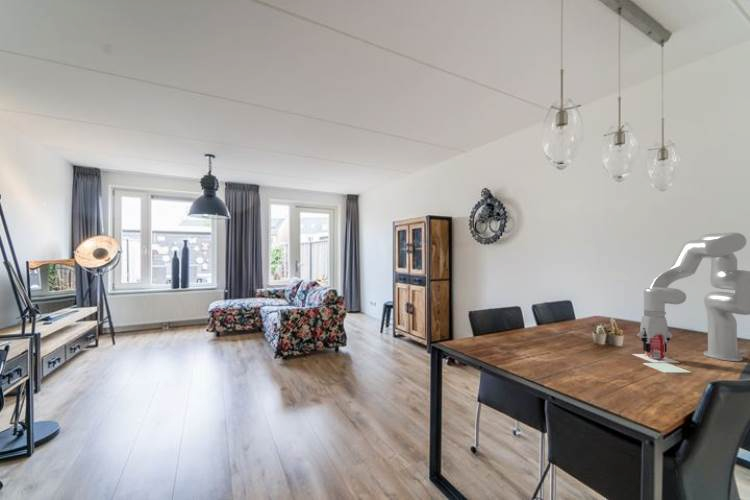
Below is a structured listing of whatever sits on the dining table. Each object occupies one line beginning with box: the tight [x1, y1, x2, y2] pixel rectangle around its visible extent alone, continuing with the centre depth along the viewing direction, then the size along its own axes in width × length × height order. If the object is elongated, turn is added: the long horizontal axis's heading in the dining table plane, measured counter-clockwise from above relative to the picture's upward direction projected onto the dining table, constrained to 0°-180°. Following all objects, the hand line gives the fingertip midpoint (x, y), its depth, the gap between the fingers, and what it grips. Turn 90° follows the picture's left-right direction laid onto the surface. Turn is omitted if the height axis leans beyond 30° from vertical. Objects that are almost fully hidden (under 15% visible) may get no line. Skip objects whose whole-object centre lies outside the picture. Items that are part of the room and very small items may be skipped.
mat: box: [642, 362, 692, 374], centre depth 137 cm, size 11×11×1 cm
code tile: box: [631, 353, 680, 364], centre depth 150 cm, size 12×12×1 cm
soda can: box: [644, 334, 666, 359], centre depth 150 cm, size 7×7×12 cm
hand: (654, 351), depth 150 cm, fingers closed on soda can, 7 cm apart
